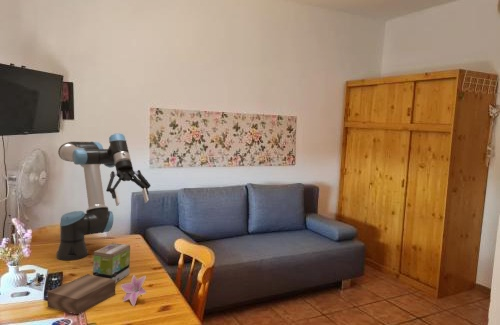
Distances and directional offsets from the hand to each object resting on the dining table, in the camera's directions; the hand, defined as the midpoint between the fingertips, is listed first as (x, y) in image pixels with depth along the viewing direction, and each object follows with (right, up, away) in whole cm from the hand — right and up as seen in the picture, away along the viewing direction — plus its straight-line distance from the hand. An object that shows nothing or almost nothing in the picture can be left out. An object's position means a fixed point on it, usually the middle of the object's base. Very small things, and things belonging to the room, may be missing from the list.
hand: (132, 203), depth 169 cm
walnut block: (-14, -37, -20) cm, 44 cm away
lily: (+6, -38, -18) cm, 42 cm away
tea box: (-11, -36, +2) cm, 37 cm away
